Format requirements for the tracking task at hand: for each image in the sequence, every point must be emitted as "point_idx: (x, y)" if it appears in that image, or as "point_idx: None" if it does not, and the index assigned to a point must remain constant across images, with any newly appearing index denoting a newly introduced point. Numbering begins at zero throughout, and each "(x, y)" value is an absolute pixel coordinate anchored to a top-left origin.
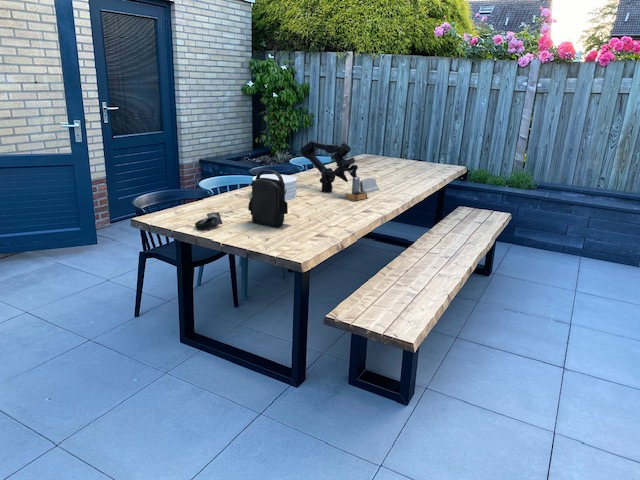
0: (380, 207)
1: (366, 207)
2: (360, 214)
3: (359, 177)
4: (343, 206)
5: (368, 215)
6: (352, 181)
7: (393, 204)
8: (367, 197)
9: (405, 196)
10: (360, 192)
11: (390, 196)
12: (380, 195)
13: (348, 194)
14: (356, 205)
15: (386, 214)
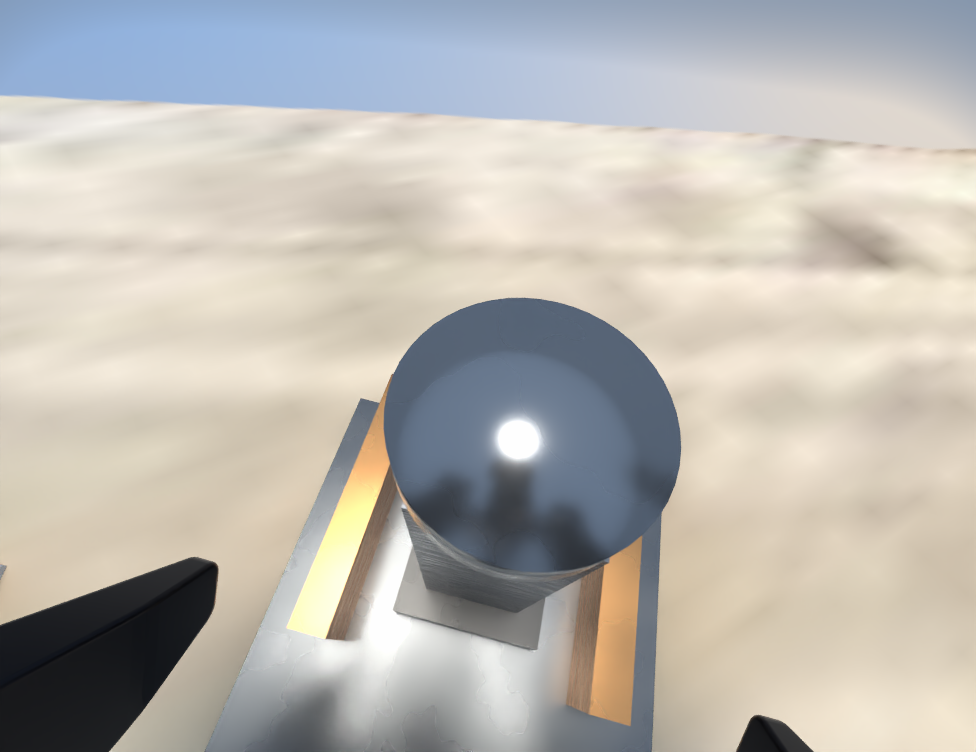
0: (646, 204)
1: (752, 285)
2: (971, 252)
3: (442, 323)
4: (957, 486)
5: (925, 206)
6: (582, 576)
7: (468, 160)
8: (364, 410)
9: (61, 150)
10: (380, 488)
11: (116, 247)
12: (94, 346)
13: (631, 629)
14: (780, 386)
15: (781, 136)
